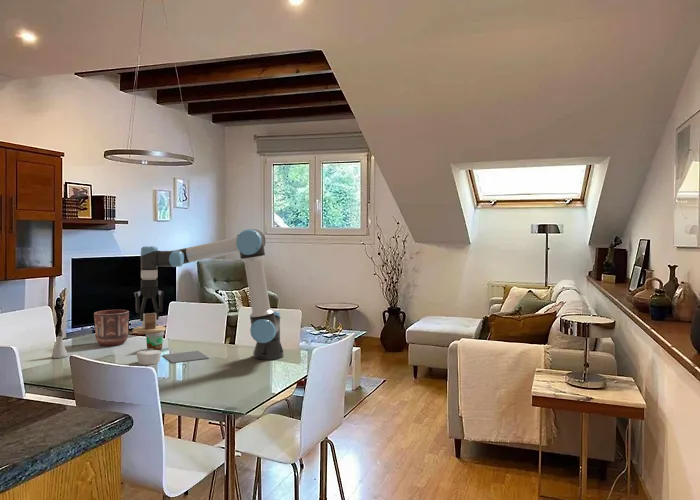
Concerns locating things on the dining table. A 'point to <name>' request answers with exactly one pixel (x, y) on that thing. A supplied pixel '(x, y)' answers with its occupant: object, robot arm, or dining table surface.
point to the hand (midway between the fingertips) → (149, 327)
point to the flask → (59, 349)
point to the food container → (154, 341)
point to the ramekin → (148, 357)
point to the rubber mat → (185, 356)
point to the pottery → (111, 327)
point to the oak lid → (149, 326)
